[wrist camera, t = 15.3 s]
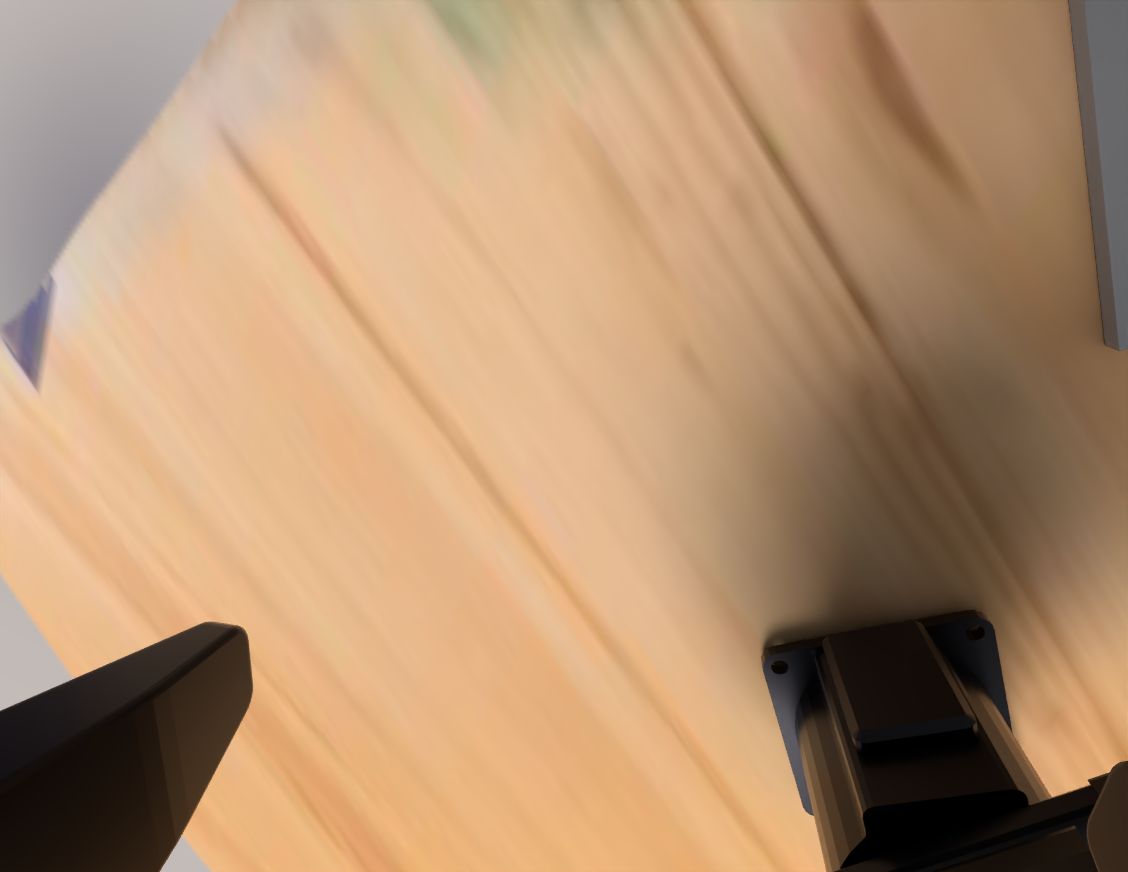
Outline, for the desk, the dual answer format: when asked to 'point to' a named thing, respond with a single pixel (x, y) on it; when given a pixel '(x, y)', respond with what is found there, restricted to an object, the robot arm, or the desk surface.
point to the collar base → (1106, 148)
